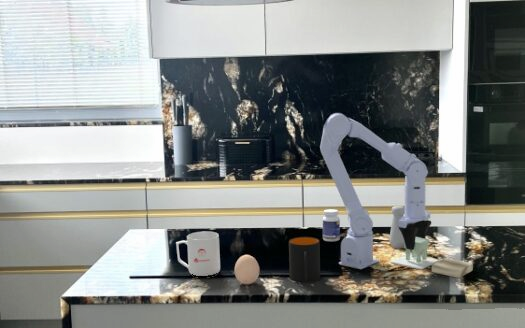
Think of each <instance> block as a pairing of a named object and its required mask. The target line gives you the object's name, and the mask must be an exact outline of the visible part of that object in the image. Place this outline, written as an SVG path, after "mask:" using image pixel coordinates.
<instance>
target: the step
mask: <svg viewBox="0 0 525 328" xmlns="http://www.w3.org/2000/svg"><path fill="white" fill-rule="evenodd" d="M473 268H474V264H473V262H469V261H468V262H467V261H463V260H457V259H453V258H447V257H444V258H443V259H441V260H439V261H438V262H436V263H434V264H432V265H431V273H434V274H439V275H445V276H448V277H453V278H458V279H459V278H462V277H464V276H465V275H467V274H469V273H471V272H472V271H473Z"/></svg>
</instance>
